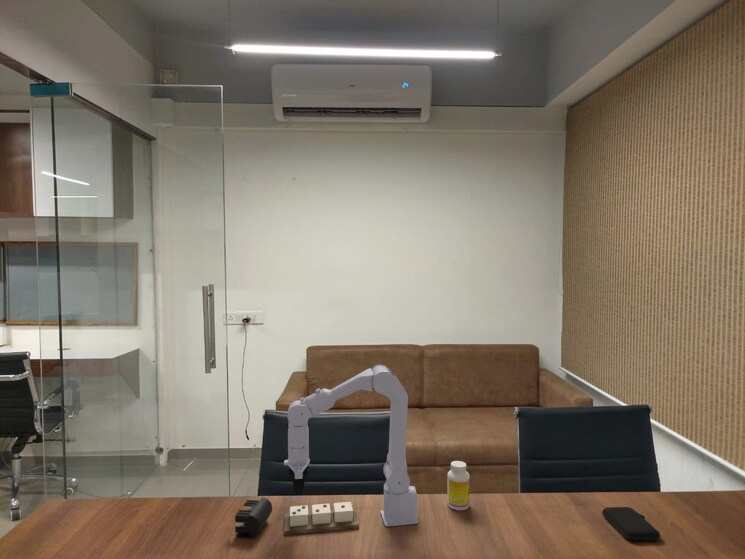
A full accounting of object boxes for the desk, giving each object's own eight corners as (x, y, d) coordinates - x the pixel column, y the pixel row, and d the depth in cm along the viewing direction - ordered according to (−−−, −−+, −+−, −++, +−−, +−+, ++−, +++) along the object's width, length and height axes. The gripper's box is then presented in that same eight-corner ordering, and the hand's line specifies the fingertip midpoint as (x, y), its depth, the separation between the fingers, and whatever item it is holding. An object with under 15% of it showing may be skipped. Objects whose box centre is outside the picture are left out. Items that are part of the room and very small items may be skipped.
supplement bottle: (471, 511, 139) (472, 468, 139) (449, 511, 139) (449, 468, 138) (466, 499, 146) (467, 459, 145) (445, 500, 146) (445, 459, 145)
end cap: (260, 541, 125) (259, 516, 124) (234, 539, 125) (234, 514, 125) (272, 520, 134) (272, 497, 134) (249, 518, 135) (248, 495, 135)
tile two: (329, 513, 136) (329, 502, 136) (330, 523, 131) (330, 511, 131) (312, 515, 135) (312, 504, 135) (312, 524, 130) (312, 513, 130)
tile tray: (355, 512, 139) (355, 508, 139) (358, 528, 130) (358, 524, 130) (285, 518, 136) (285, 513, 136) (284, 535, 127) (284, 531, 127)
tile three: (307, 515, 135) (307, 504, 135) (308, 525, 130) (308, 513, 130) (290, 516, 134) (290, 505, 134) (289, 526, 129) (289, 515, 129)
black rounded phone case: (668, 544, 123) (634, 514, 138) (668, 533, 123) (635, 504, 138) (628, 545, 123) (599, 515, 137) (628, 534, 123) (599, 505, 137)
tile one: (350, 511, 137) (350, 501, 136) (352, 521, 132) (352, 509, 132) (333, 513, 136) (333, 502, 136) (334, 522, 131) (334, 511, 131)
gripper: (284, 436, 138) (285, 481, 138) (283, 456, 123) (283, 507, 124) (308, 434, 139) (309, 480, 139) (310, 454, 124) (310, 504, 125)
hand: (298, 492), depth 132 cm, fingers closed
